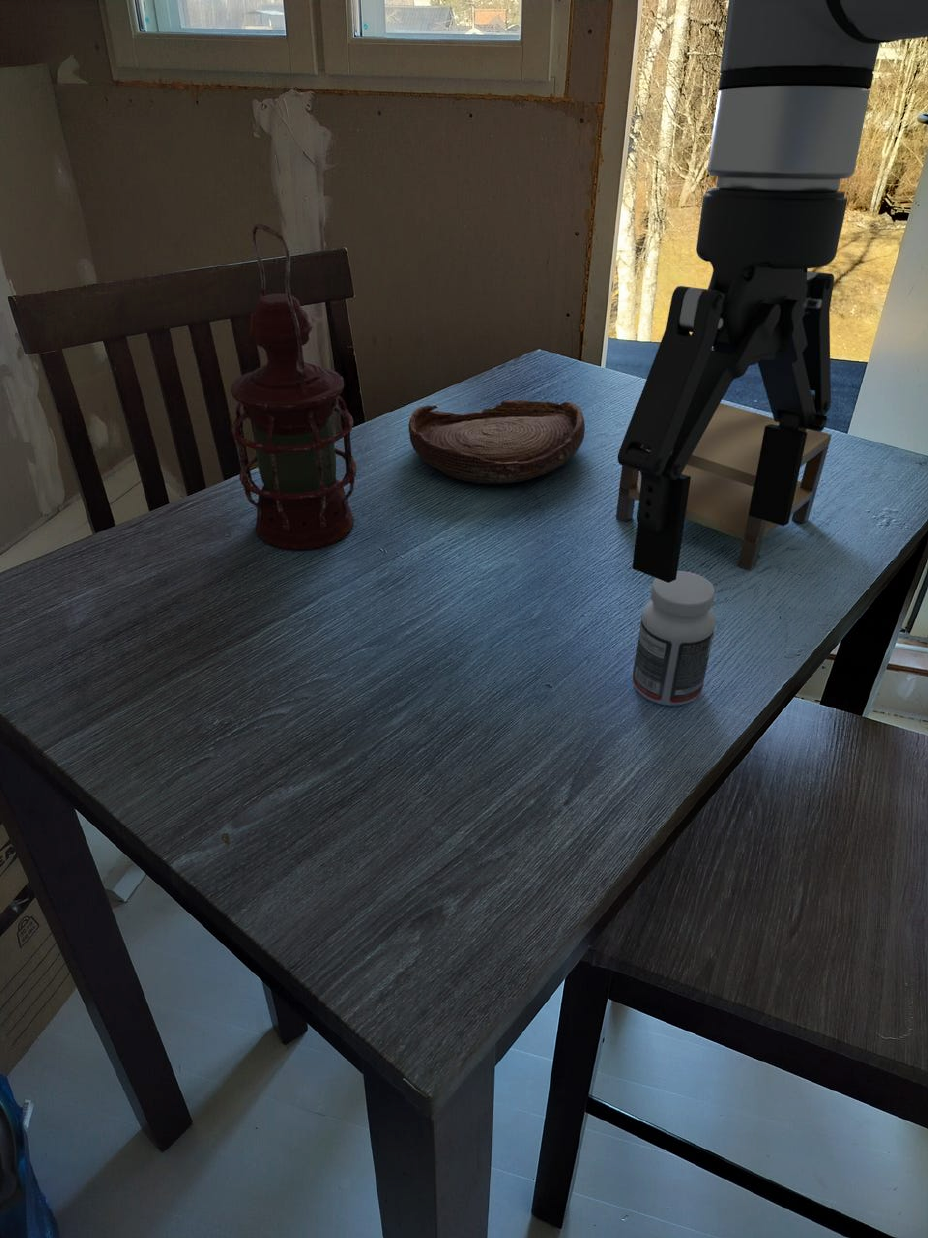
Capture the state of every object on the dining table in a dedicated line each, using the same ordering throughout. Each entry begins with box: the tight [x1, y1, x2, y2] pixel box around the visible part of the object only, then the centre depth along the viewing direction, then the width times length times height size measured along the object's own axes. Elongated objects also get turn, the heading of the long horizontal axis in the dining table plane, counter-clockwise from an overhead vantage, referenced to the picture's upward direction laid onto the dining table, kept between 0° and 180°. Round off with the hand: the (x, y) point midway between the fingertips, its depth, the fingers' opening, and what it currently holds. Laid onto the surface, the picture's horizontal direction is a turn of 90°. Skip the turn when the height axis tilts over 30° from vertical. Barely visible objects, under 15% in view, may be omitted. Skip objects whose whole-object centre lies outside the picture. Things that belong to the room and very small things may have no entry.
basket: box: [408, 399, 586, 485], centre depth 105 cm, size 22×20×5 cm
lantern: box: [230, 223, 358, 551], centre depth 83 cm, size 12×12×30 cm
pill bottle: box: [632, 570, 716, 707], centre depth 68 cm, size 6×6×10 cm
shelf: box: [615, 402, 833, 571], centre depth 91 cm, size 16×14×10 cm
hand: (715, 545), depth 56 cm, fingers open, 13 cm apart
